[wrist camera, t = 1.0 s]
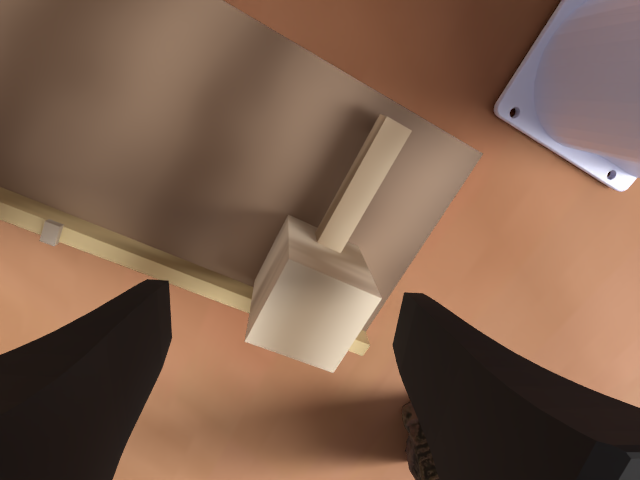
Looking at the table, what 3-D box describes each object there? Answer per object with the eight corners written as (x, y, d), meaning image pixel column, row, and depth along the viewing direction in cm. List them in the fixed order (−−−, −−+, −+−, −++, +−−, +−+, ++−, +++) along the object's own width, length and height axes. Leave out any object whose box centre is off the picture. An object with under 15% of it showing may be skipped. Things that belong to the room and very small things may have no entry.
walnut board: (464, 147, 19) (499, 159, 16) (352, 322, 23) (362, 361, 20) (8, -121, 14) (-75, -182, 11) (-43, 165, 18) (-116, 182, 15)
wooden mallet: (422, 139, 17) (472, 159, 13) (322, 307, 20) (333, 372, 16) (348, 97, 16) (372, 102, 12) (254, 280, 19) (244, 341, 15)
